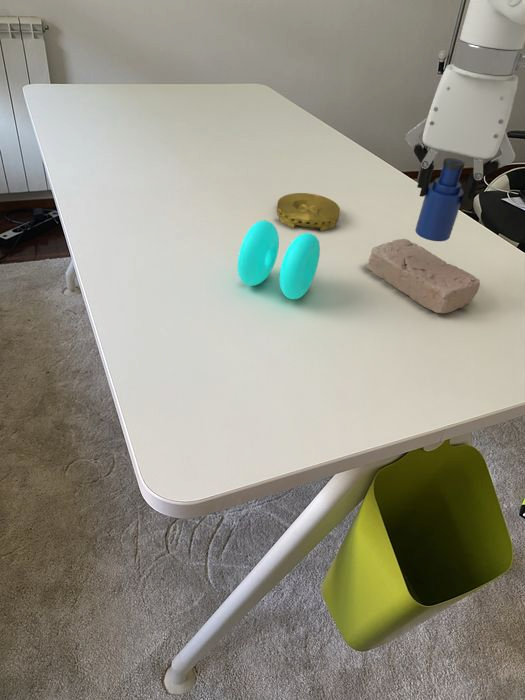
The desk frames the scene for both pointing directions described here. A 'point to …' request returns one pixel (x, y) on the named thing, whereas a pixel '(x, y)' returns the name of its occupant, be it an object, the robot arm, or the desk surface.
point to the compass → (308, 211)
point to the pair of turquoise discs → (263, 252)
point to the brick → (423, 276)
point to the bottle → (441, 203)
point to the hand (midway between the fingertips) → (443, 196)
